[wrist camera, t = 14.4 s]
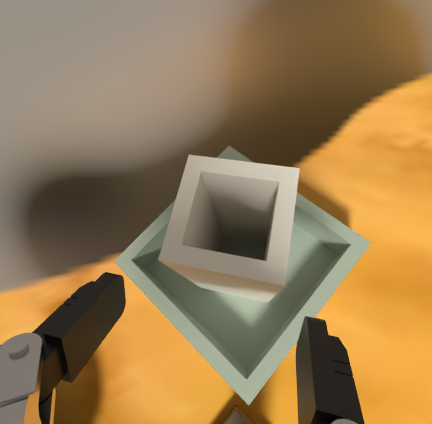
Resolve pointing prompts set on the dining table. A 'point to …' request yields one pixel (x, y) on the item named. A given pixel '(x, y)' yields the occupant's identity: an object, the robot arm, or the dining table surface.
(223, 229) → the sleeve
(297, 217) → the tray
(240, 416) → the base
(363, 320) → the dining table surface
